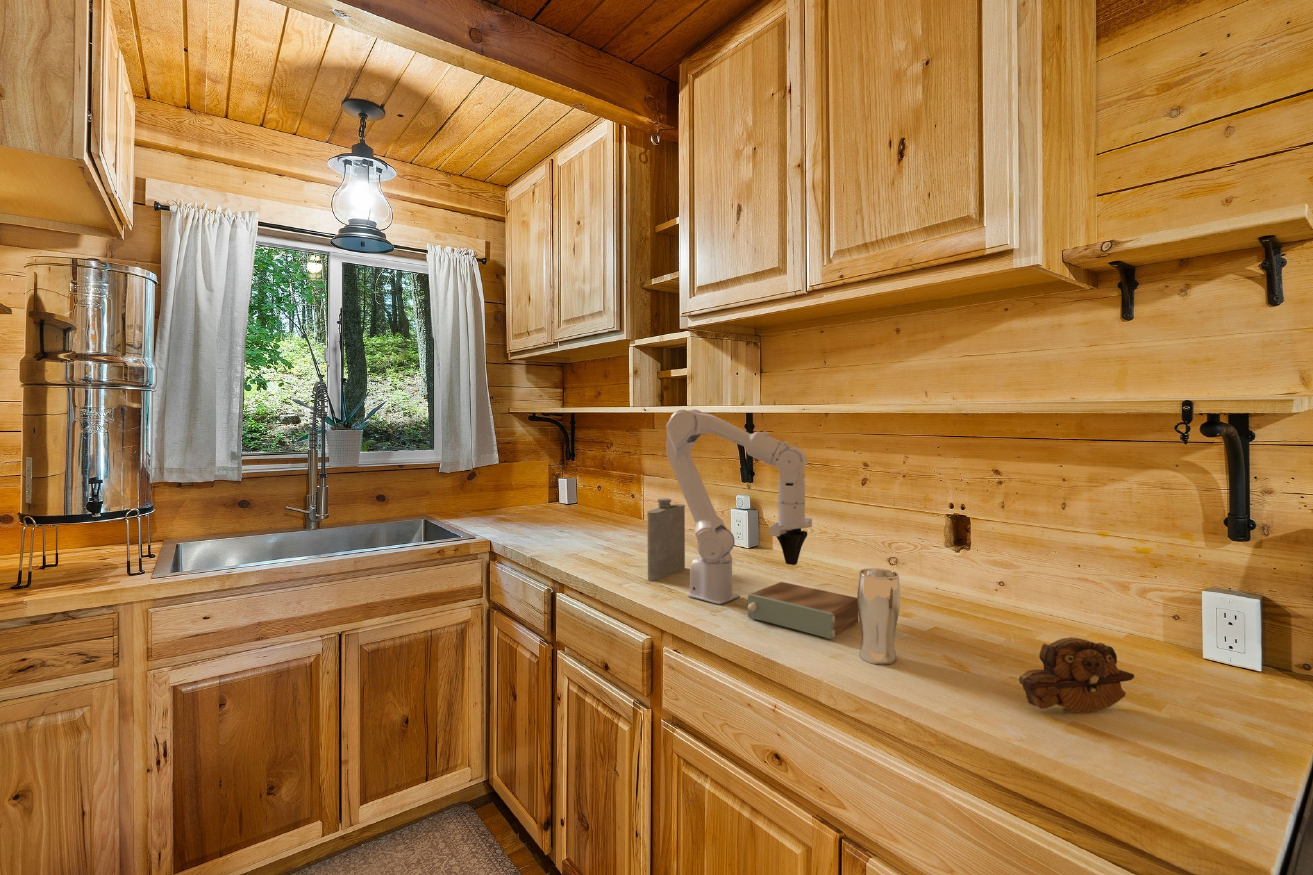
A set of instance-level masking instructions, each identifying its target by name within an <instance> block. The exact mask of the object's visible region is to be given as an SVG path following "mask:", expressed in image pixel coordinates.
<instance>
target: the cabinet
mask: <svg viewBox="0 0 1313 875" xmlns="http://www.w3.org/2000/svg"><path fill="white" fill-rule="evenodd" d="M750 594H755V595H759V596H763V597H767V598H772V599H776V600H780V601H784V602H788V603H793V604H797V605H801V606H805V607H810V608H814V609H818V610H822V611H827V612H831V613H834V616H835V623H834V630H835V637H836V636H837V635H839V634H840V633H841V634H842V633H843V632H844V631H845V630H848V629H849V628H851V627H853V626H855V625H857V624H858V623H859V610H858V601H857V597H855V596H850V595H845V594H843V593H842V594H841V593H837V592H830V591H827V590H821V589H816V588H812V587H809V586H808V587H807V586H803V585H797V584H793V583H789V582H784V581H781V582H778V583H777V582H776V583H775V584H772V585H769V586H767V587H765V588H761V589H758V590H757V591H754V592H751V593H750Z"/></svg>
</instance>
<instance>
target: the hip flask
mask: <svg viewBox="0 0 1313 875" xmlns="http://www.w3.org/2000/svg"><path fill="white" fill-rule="evenodd" d="M657 503H658V507H657V508H653V509H650V510H649V511H647V512H646V514H647V518H646V519H647V523H646V524H647V525H646V526H647V530H646V531H647V532H646V533H647V581H649V582H659V581H661V580H662V579H663V578H666V577H667V576H670V575H671V574H675V573H677V572H681V571H684V570H685V569H686V561H685V560H686V559H685V558H686V555H685V554H686V552H685V551H686V547H685V546H686V544H685V543H686V540H685V539H686V538H685V537H686V529H685V528H686V523H685V520H686V518H685V514H686V513H685V512H686V511H685V510H686V509H685V506H686V505H685V504H682V503H679V504H677V503H676V504H675V503H674V504H672V499H671V498H665V497H662V498H658V499H657ZM674 572H675V573H674ZM665 576H666V577H665ZM660 579H661V580H660Z"/></svg>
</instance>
